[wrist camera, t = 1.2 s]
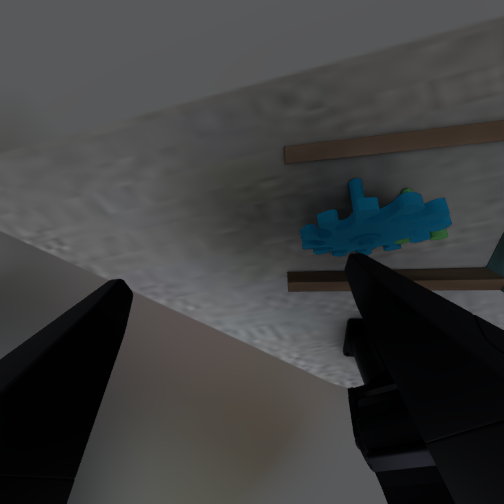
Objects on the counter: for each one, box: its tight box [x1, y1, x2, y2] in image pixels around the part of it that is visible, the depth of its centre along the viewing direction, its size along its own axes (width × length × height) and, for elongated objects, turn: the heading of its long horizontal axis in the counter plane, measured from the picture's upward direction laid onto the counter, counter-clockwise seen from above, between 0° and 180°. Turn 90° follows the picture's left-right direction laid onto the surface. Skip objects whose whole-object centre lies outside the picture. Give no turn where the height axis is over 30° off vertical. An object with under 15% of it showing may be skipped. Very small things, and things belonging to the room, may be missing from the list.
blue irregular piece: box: [300, 178, 452, 257], centre depth 16 cm, size 11×6×10 cm
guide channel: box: [284, 120, 504, 292], centre depth 16 cm, size 14×22×4 cm, turn 96°
